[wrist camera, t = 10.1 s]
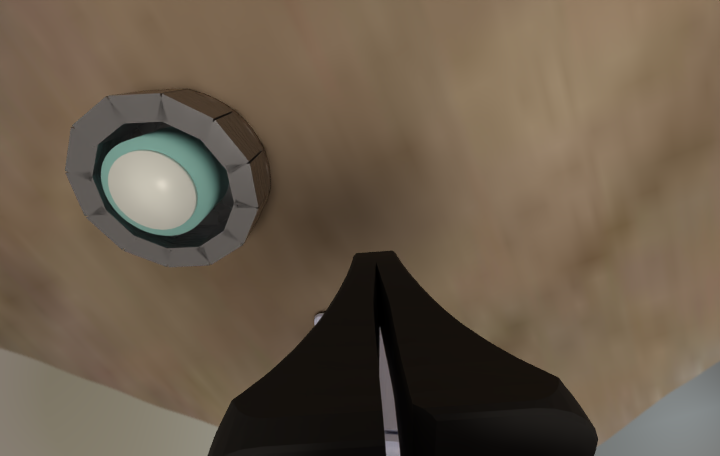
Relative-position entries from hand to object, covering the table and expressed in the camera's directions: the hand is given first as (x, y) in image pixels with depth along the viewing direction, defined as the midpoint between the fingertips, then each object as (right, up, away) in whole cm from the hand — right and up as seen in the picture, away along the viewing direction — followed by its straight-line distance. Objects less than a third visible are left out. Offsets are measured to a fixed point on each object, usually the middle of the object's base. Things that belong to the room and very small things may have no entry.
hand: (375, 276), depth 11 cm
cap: (-11, +5, +8) cm, 14 cm away
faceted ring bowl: (-10, +5, +8) cm, 14 cm away
